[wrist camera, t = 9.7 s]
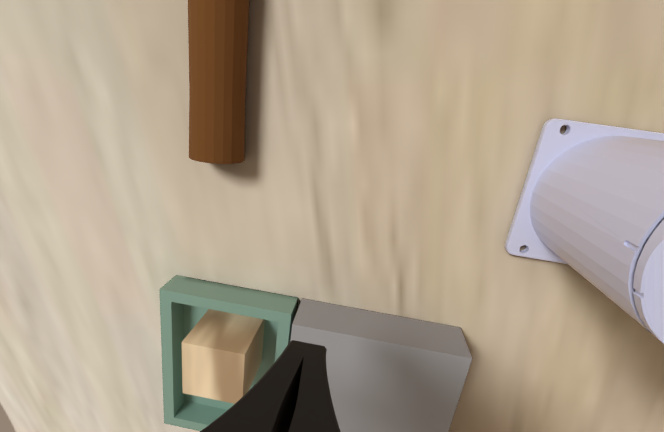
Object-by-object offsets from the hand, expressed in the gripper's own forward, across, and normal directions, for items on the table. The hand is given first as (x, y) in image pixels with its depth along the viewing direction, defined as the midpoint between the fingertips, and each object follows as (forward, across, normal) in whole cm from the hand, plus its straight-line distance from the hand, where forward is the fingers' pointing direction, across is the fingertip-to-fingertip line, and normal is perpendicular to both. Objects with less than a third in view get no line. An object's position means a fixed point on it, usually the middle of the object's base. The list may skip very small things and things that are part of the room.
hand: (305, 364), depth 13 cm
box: (+10, +7, +10) cm, 16 cm away
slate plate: (+10, -4, +10) cm, 15 cm away
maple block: (+8, +4, +8) cm, 12 cm away
